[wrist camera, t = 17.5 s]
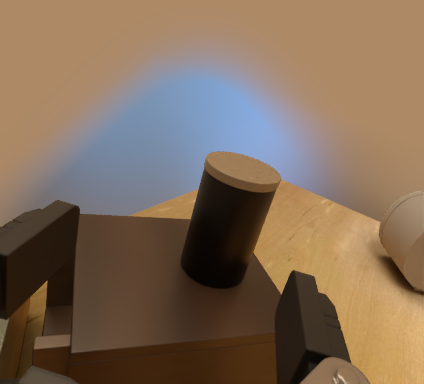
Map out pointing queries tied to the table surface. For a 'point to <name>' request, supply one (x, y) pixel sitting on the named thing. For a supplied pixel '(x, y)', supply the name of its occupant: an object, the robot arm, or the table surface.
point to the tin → (227, 218)
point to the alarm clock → (406, 236)
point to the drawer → (52, 329)
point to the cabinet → (163, 311)
